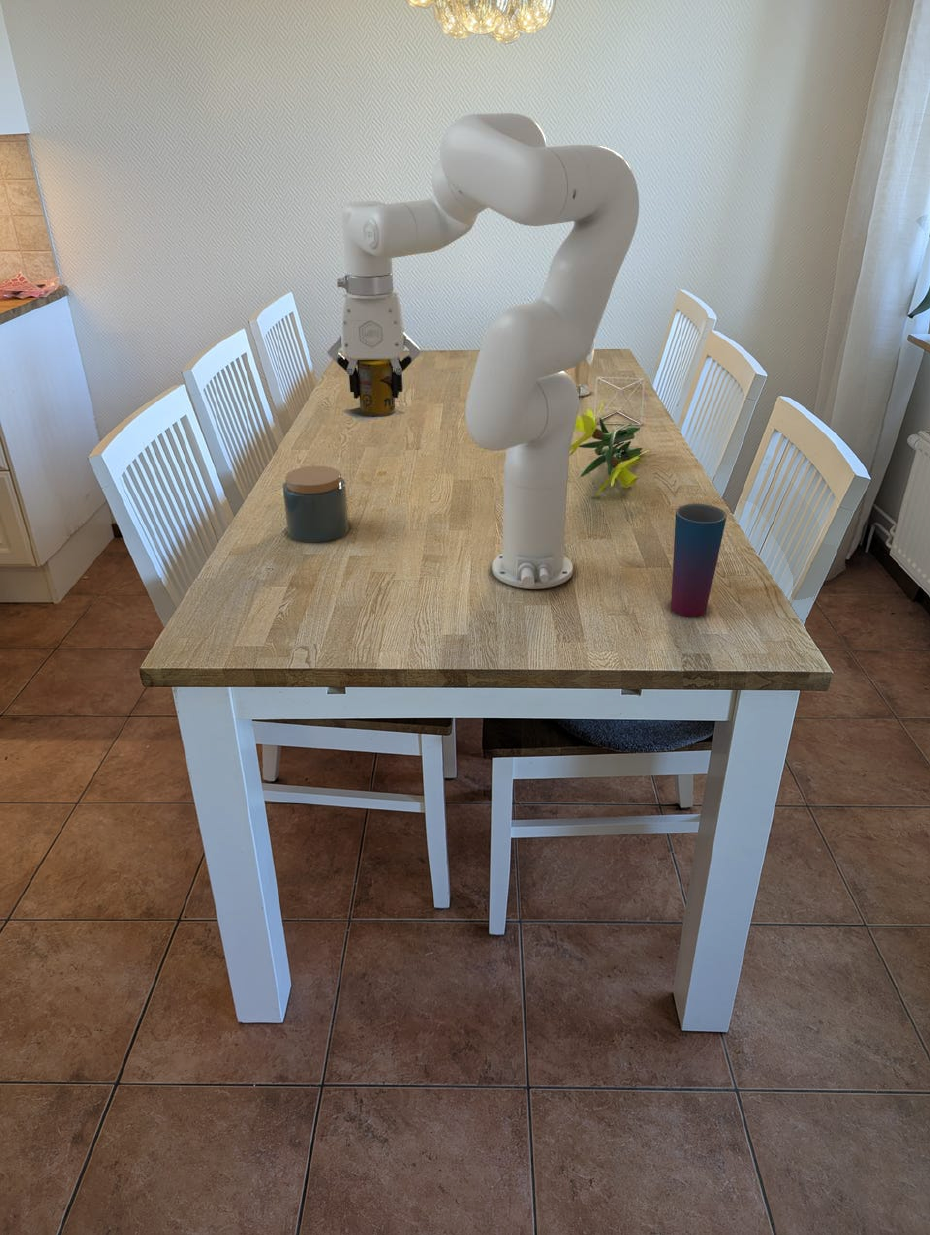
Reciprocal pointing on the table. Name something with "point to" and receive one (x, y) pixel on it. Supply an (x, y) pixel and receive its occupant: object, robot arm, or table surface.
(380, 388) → the yellow coffee bottle
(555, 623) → the table surface
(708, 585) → the cup
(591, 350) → the beer glass
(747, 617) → the table surface
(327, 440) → the table surface
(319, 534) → the blue jar
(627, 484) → the daffodil flowers
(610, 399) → the geometric polyhedron
